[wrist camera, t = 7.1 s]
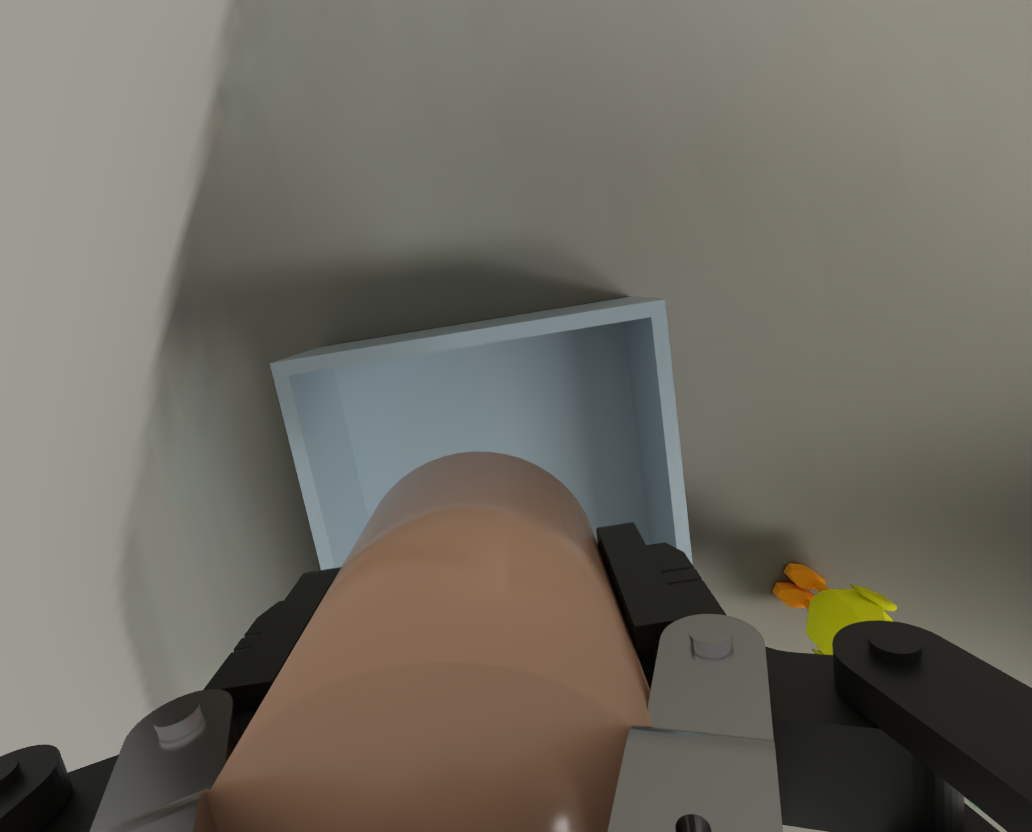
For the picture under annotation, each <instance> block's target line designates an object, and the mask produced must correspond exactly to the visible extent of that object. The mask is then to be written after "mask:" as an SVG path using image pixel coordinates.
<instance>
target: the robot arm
mask: <svg viewBox="0 0 1032 832" xmlns="http://www.w3.org/2000/svg"><path fill="white" fill-rule="evenodd" d="M596 534H597V543H598V547H599V549H600V552H601V555H602V558H603V561H604V563H605V566H606V569H607V572H608V574H609V577H610V580H611V583H612V586H613V588H614V591H615V594H616V597H617V600H618V602H619V605H620V608H621V611H622V613H623V616H624V619H625V622H626V625H627V627H628V630H629V633H630V636H631V638H632V641H633V644H634V647H635V650H636V652H637V655H638V658H639V661H640V663H641V666H642V669H643V672H644V674H645V677H646V680H647V683H648V685H649V688H650V697H649V703H648V708H647V710H648V712H649V715H650V718H651V721H652V724H653V727H649V726H639V725H632V726H631V728H630V730H629V733H628V737H627V741H626V745H625V750H624V755H623V760H622V765H621V769H620V774H619V779H618V784H617V788H616V793H615V798H614V803H613V807H612V812H611V817H610V822H609V827H608V831H607V832H783V827H782V825H788V826H795V827H801V828H808V829H815V830H821V831H828V832H1000V831H998V830H997V829H996V828H995V827H993V826H992V825H991V824H990V823H989V822H987V821H986V820H985V819H984V818H982V817H981V816H980V815H979V814H978V813H976V812H975V811H974V810H973V809H971V808H970V807H969V806H968V805H966V804H965V803H964V797H966V798H967V799H968V800H969V801H971V802H972V803H973V804H974V805H976V806H977V807H978V808H979V809H981V810H982V811H983V812H984V813H986V814H987V815H988V816H989V817H990V818H992V819H993V820H994V821H995V822H997V823H998V824H999V825H1000V826H1002V827H1003V828H1004V829H1005V830H1006V831H1007V832H1032V688H1030V687H1029V686H1027V685H1025V684H1023V683H1022V682H1020V681H1018V680H1016V679H1014V678H1013V677H1011V676H1009V675H1007V674H1006V673H1004V672H1002V671H1000V670H998V669H997V668H995V667H993V666H991V665H990V664H988V663H986V662H984V661H983V660H981V659H979V658H977V657H975V656H974V655H972V654H970V653H968V652H967V651H965V650H963V649H961V648H959V647H958V646H956V645H954V644H952V643H951V642H949V641H947V640H945V639H943V638H942V637H940V636H938V635H936V634H934V633H932V632H930V631H927V630H925V629H922V628H919V627H916V626H913V625H909V624H905V623H900V622H893V621H881V620H874V621H863V622H857V623H853V624H850V625H848V626H845V627H844V628H842V629H841V630H839V631H838V632H837V633H836V634H835V636H834V638H833V642H832V650H833V655H825V654H808V653H794V652H785V651H780V650H775V649H772V648H768V647H765V642H764V639H763V637H762V635H761V634H760V633H759V632H758V631H757V629H755V628H754V627H753V626H751V625H750V624H748V623H746V622H744V621H742V620H740V619H737V618H734V617H730V616H727V615H726V614H725V612H724V611H723V609H722V608H721V606H720V605H719V603H718V602H717V600H716V599H715V597H714V596H713V595H712V593H711V592H710V590H709V589H708V587H707V586H706V584H705V583H704V581H702V579H701V577H700V575H699V574H698V572H697V571H696V569H694V566H693V565H692V563H691V562H690V560H689V559H688V557H687V556H686V554H685V553H684V552H683V551H681V550H679V549H677V548H675V547H673V546H672V545H670V544H668V543H666V542H663V543H657V544H651V545H646V544H645V542H644V540H643V538H642V537H641V535H640V533H639V531H638V529H637V527H636V525H635V524H634V522H630V523H623V524H617V525H611V526H604V527H598V528H596ZM340 569H341V567H338V568H332V569H325V570H319V571H312V572H306V573H304V574H303V575H302V576H301V577H300V579H299V580H298V582H297V583H296V585H295V586H294V587H293V589H292V590H291V592H290V593H289V594H288V596H287V597H286V599H285V600H284V601H280V602H278V603H276V604H275V605H274V606H272V607H271V608H270V609H268V610H267V611H266V612H264V613H263V614H262V615H260V616H259V617H258V618H257V619H256V620H255V622H254V623H253V624H252V626H251V627H250V628H249V630H248V631H247V632H246V634H245V638H242V639H241V640H240V642H239V643H238V644H237V646H236V647H235V648H234V653H231V654H230V655H229V656H228V658H227V659H226V660H225V662H224V663H223V664H222V666H221V667H220V668H219V670H218V671H217V672H216V674H215V675H214V676H213V678H212V679H211V680H210V682H209V683H208V684H207V686H206V687H205V688H204V690H201V691H196V692H193V693H189V694H186V695H184V696H181V697H178V698H176V699H174V700H172V701H170V702H168V703H166V704H164V705H162V706H160V707H159V708H157V709H156V710H154V711H153V712H151V713H150V714H148V715H147V716H146V717H145V718H143V719H142V720H141V721H140V722H139V723H138V724H137V725H136V726H135V727H134V728H133V729H132V730H131V731H130V733H129V734H128V735H127V737H126V739H125V741H124V743H123V746H122V748H121V751H120V753H119V755H117V756H114V757H111V758H108V759H105V760H102V761H100V762H97V763H94V764H91V765H88V766H86V767H83V768H80V769H77V770H75V771H71V772H69V773H67V771H66V768H65V765H64V762H63V760H62V757H61V754H60V752H59V750H58V749H57V748H56V747H54V746H51V745H36V746H30V747H26V748H22V749H19V750H16V751H13V752H11V753H8V754H6V755H3V756H1V757H0V832H218V830H217V827H216V824H215V820H214V817H213V814H212V811H211V808H210V805H209V802H208V799H207V797H208V794H209V792H210V790H211V788H212V786H213V784H214V783H215V781H216V779H217V778H218V776H219V774H220V773H221V771H222V769H223V767H224V766H225V764H226V762H227V761H228V759H229V757H230V756H231V754H232V752H233V750H234V749H235V747H236V745H237V744H238V742H239V740H240V739H241V737H242V735H243V733H244V732H245V730H246V728H247V727H248V725H249V723H250V722H251V720H252V718H253V717H254V715H255V713H256V711H257V710H258V708H259V706H260V705H261V703H262V701H263V700H264V698H265V696H266V694H267V693H268V691H269V689H270V688H271V686H272V684H273V683H274V681H275V679H276V677H277V676H278V674H279V672H280V671H281V669H282V667H283V666H284V664H285V662H286V660H287V659H288V657H289V655H290V654H291V652H292V650H293V649H294V647H295V645H296V643H297V642H298V640H299V638H300V637H301V635H302V633H303V632H304V630H305V628H306V626H307V625H308V623H309V621H310V620H311V618H312V616H313V615H314V613H315V611H316V609H317V608H318V606H319V604H320V603H321V601H322V599H323V598H324V596H325V594H326V592H327V591H328V589H329V587H330V586H331V584H332V582H333V581H334V579H335V577H336V575H337V574H338V572H339V570H340Z"/></svg>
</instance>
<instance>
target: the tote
mask: <svg viewBox="0 0 1032 832" xmlns="http://www.w3.org/2000/svg"><path fill="white" fill-rule="evenodd" d="M270 367H271V371H272V375H273V379H274V383H275V387H276V391H277V395H278V399H279V403H280V407H281V411H282V415H283V419H284V423H285V427H286V431H287V435H288V439H289V443H290V447H291V451H292V455H293V459H294V463H295V467H296V471H297V475H298V479H299V483H300V488H301V492H302V496H303V500H304V504H305V508H306V512H307V516H308V520H309V524H310V528H311V532H312V536H313V540H314V544H315V548H316V552H317V556H318V560H319V564H320V568H321V570H325V569H332V568H338V567H342V565H343V564H344V562H345V560H346V559H347V557H348V555H349V553H350V552H351V550H352V548H353V547H354V545H355V543H356V542H357V540H358V538H359V536H360V535H361V533H362V531H363V530H364V528H365V526H366V525H367V523H368V521H369V519H370V518H371V516H372V514H373V513H374V511H375V509H376V508H377V506H378V504H379V503H380V501H381V500H382V498H383V497H384V496H385V495H386V494H387V492H388V491H389V490H390V489H391V488H392V487H393V486H394V485H395V484H396V483H397V482H398V481H399V480H400V479H401V478H403V477H404V476H406V475H407V474H408V473H410V472H411V471H413V470H414V469H416V468H418V467H420V466H422V465H424V464H425V463H427V462H430V461H432V460H435V459H438V458H441V457H443V456H448V455H452V454H456V453H463V452H474V451H479V452H495V453H501V454H507V455H511V456H514V457H518V458H521V459H524V460H526V461H528V462H531V463H533V464H535V465H537V466H539V467H541V468H542V469H544V470H546V471H547V472H549V473H550V474H552V475H553V476H554V477H555V478H557V479H558V480H559V481H561V482H562V483H563V484H564V485H565V486H566V487H567V488H568V489H569V490H570V491H571V493H572V494H573V495H574V496H575V498H576V499H577V500H578V502H579V503H580V505H581V506H582V508H583V510H584V511H585V513H586V515H587V517H588V519H589V522H590V524H591V527H592V530H593V533H594V535H595V538H596V541H597V534H596V528H598V527H604V526H611V525H617V524H623V523H630V522H634V524H635V525H636V527H637V529H638V531H639V533H640V535H641V537H642V538H643V540H644V542H645V544H646V545H651V544H657V543H663V542H666V543H668V544H670V545H672V546H673V547H675V548H677V549H679V550H681V551H683V552H684V553H685V554H686V556H687V557H688V559H689V560H690V562H691V563H692V565H693V562H692V553H691V543H690V534H689V524H688V514H687V505H686V495H685V486H684V476H683V466H682V457H681V447H680V438H679V428H678V418H677V409H676V399H675V390H674V380H673V370H672V361H671V351H670V342H669V332H668V322H667V313H666V303H665V299H657V298H643V297H625V298H618V299H612V300H606V301H600V302H594V303H588V304H581V305H575V306H569V307H563V308H557V309H551V310H544V311H538V312H532V313H526V314H520V315H514V316H507V317H501V318H495V319H489V320H483V321H477V322H470V323H464V324H458V325H452V326H446V327H440V328H433V329H427V330H421V331H415V332H409V333H403V334H396V335H390V336H384V337H378V338H372V339H366V340H359V341H353V342H347V343H341V344H335V345H329V346H322V347H319V348H315V349H312V350H309V351H306V352H303V353H300V354H297V355H294V356H290V357H287V358H284V359H281V360H278V361H275V362H272V363H270ZM597 544H598V543H597Z"/></svg>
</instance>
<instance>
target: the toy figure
mask: <svg viewBox="0 0 1032 832" xmlns="http://www.w3.org/2000/svg"><path fill="white" fill-rule="evenodd" d="M783 572H784V573H785V574H786V575H787V576H788V577H789V578H790V579H791V580H792V581H793V582H794V583H795V584H793V583H790V582H776V584H775V586H774V588H773V590H772V592H773V593H774V595H776V596H777V597H778V598H779V599H780V600H781V601H783V602H784V603H785V604H786V605H787V606H790V607H795V608H799V607H806V608H807V609H808V610H809V612H808V620H807V627H806V634H807V635H808V636H809V637H810V638H811V640H812V641H813V642H814V643H815V644H816V645H817V647H818V648H819V649H820V650H821V651H819V650H813V649H812V650H813V652H814V653H815V654H825V655H833V650H832V642H833V638H834V636H835V634H836V633H837V632H838V631H839V630H841V629H842V628H844V627H845V626H848V625H850V624H853V623H857V622H863V621H874V620H881V621H893V620H892V619H891V618H890V617H889V616H888V614H887V613H886V612H885V611H884V610H887V611H893V612H894V611H895V610H897V606H896V605H895V604H894V603H892V602H891V601H890V600H889V599H887V598H886V597H885V596H883V595H881V594H879V593H877V592H874V591H872V590H870V589H868V588H865V587H861V586H856V585H851V584H850V585H851V586H852V588H853V589H829V588H828V587H827V586H826V585H825V583H826V582H827V581H826V580H825V579H824V578H823V577H821V576H820V575H819V574H817V573H816V572H814V571H813V570H812V569H810V568H809V567H807V566H805V565H803V564H794V563H788V565H787V566H786V568H785V570H784V571H783ZM805 589H808V590H818V591H819V593H818V594H817V595H816V596H815V595H813V594H812V593H810V592H808V591H807V590H805ZM893 622H894V621H893ZM969 802H970V803H971V804H972V805H974V804H973V803H972V802H971V801H969ZM974 806H975V807H976V808H978V807H977V806H976V805H974ZM978 809H979V808H978ZM980 810H981V809H980Z"/></svg>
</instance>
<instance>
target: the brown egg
mask: <svg viewBox="0 0 1032 832" xmlns="http://www.w3.org/2000/svg"><path fill="white" fill-rule="evenodd" d="M649 697H650V688H649V685H648V683H647V680H646V677H645V674H644V672H643V669H642V666H641V663H640V661H639V658H638V655H637V652H636V650H635V647H634V644H633V641H632V638H631V636H630V633H629V630H628V627H627V625H626V622H625V619H624V616H623V613H622V611H621V608H620V605H619V602H618V600H617V597H616V594H615V591H614V588H613V586H612V583H611V580H610V577H609V574H608V572H607V569H606V566H605V563H604V561H603V558H602V555H601V552H600V549H599V547H598V544H597V541H596V538H595V535H594V533H593V530H592V527H591V524H590V522H589V519H588V517H587V515H586V513H585V511H584V510H583V508H582V506H581V505H580V503H579V502H578V500H577V499H576V498H575V496H574V495H573V494H572V493H571V491H570V490H569V489H568V488H567V487H566V486H565V485H564V484H563V483H562V482H561V481H559V480H558V479H557V478H555V477H554V476H553V475H552V474H550V473H549V472H547V471H546V470H544V469H542V468H541V467H539V466H537V465H535V464H533V463H531V462H528V461H526V460H524V459H521V458H518V457H514V456H511V455H507V454H501V453H495V452H479V451H474V452H463V453H456V454H452V455H448V456H443V457H441V458H438V459H435V460H432V461H430V462H427V463H425V464H424V465H422V466H420V467H418V468H416V469H414V470H413V471H411V472H410V473H408V474H407V475H406V476H404V477H403V478H401V479H400V480H399V481H398V482H397V483H396V484H395V485H394V486H393V487H392V488H391V489H390V490H389V491H388V492H387V494H386V495H385V496H384V497H383V498H382V500H381V501H380V503H379V504H378V506H377V508H376V509H375V511H374V513H373V514H372V516H371V518H370V519H369V521H368V523H367V525H366V526H365V528H364V530H363V531H362V533H361V535H360V536H359V538H358V540H357V542H356V543H355V545H354V547H353V548H352V550H351V552H350V553H349V555H348V557H347V559H346V560H345V562H344V564H343V565H342V567H341V569H340V570H339V572H338V574H337V575H336V577H335V579H334V581H333V582H332V584H331V586H330V587H329V589H328V591H327V592H326V594H325V596H324V598H323V599H322V601H321V603H320V604H319V606H318V608H317V609H316V611H315V613H314V615H313V616H312V618H311V620H310V621H309V623H308V625H307V626H306V628H305V630H304V632H303V633H302V635H301V637H300V638H299V640H298V642H297V643H296V645H295V647H294V649H293V650H292V652H291V654H290V655H289V657H288V659H287V660H286V662H285V664H284V666H283V667H282V669H281V671H280V672H279V674H278V676H277V677H276V679H275V681H274V683H273V684H272V686H271V688H270V689H269V691H268V693H267V694H266V696H265V698H264V700H263V701H262V703H261V705H260V706H259V708H258V710H257V711H256V713H255V715H254V717H253V718H252V720H251V722H250V723H249V725H248V727H247V728H246V730H245V732H244V733H243V735H242V737H241V739H240V740H239V742H238V744H237V745H236V747H235V749H234V750H233V752H232V754H231V756H230V757H229V759H228V761H227V762H226V764H225V766H224V767H223V769H222V771H221V773H220V774H219V776H218V778H217V779H216V781H215V783H214V784H213V786H212V788H211V790H210V792H209V794H208V797H207V799H208V802H209V805H210V808H211V811H212V814H213V817H214V820H215V824H216V827H217V830H218V832H607V831H608V827H609V822H610V817H611V812H612V807H613V803H614V798H615V793H616V788H617V784H618V779H619V774H620V769H621V765H622V760H623V755H624V750H625V745H626V741H627V737H628V733H629V730H630V728H631V726H632V725H639V726H649V727H653V724H652V721H651V718H650V715H649V712H648V710H647V708H648V703H649Z"/></svg>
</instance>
